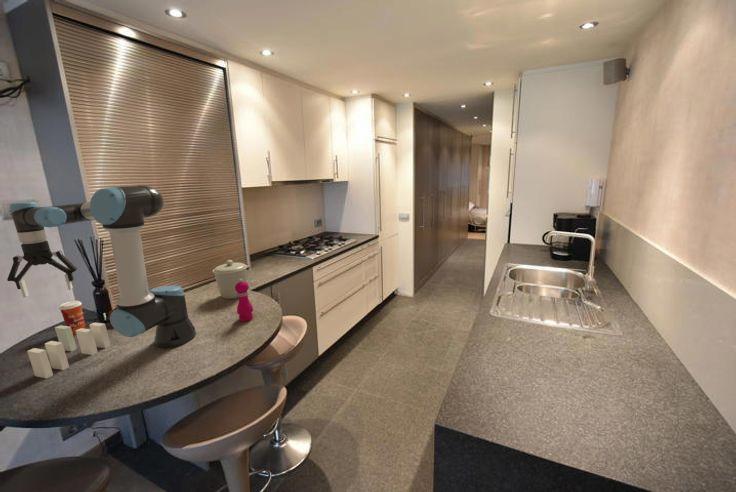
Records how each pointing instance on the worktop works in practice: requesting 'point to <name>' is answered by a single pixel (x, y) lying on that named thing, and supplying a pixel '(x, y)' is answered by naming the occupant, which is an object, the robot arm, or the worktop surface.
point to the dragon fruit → (110, 313)
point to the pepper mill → (243, 301)
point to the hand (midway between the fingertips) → (49, 292)
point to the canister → (229, 278)
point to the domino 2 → (66, 337)
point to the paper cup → (73, 315)
